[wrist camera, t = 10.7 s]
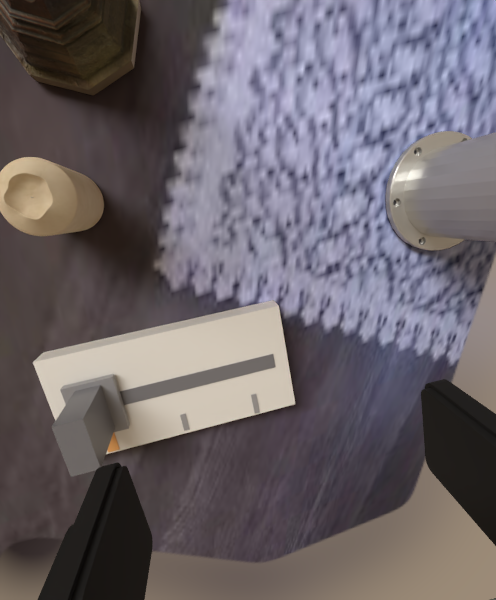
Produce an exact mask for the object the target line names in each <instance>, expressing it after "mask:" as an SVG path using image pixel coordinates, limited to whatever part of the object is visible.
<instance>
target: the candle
mask: <svg viewBox="0 0 496 600" xmlns="http://www.w3.org/2000/svg"><path fill="white" fill-rule="evenodd" d="M103 210H104V200H103V196H102V193H101V191H100V189H99V188H98V186H97V185H96V184H95V183H94V182H93V181H92V180H91V179H90V178H88V177H87V176H85V175H83V174H81V173H78V172H76V171H73V170H71V169H68V168H66V167H63V166H61V165H58V164H55V163H53V162H50V161H48V160H45V159H41V158H37V157H25V158H20V159H17V160H14V161H12V162H10V163H9V164H8V165H6V166H5V167H4V168H3V169H2V171H1V172H0V211H1V213H2V215H3V216H4V217H5V219H6V220H7V221H8V222H9V223H10V224H11V225H13V226H14V227H15V228H17V229H18V230H20V231H22V232H25V233H27V234H30V235H35V236H50V235H58V234H65V233H72V232H79V231H84V230H87V229H89V228H91V227H93V226H94V225H95V224H96V223H97V222H98V221H99V220H100V218H101V216H102V214H103Z"/></svg>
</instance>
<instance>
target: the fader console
mask: <svg viewBox="0 0 496 600" xmlns="http://www.w3.org/2000/svg"><path fill="white" fill-rule="evenodd" d="M33 364H34V367H35V369H36V372H37V374H38V377H39V379H40V382H41V385H42V387H43V390H44V392H45V395H46V398H47V400H48V403H49V405H50V408H51V410H52V413H53V416H54V418H55V421H56V419H57V418H58V416H59V415H60V413H61V412H62V410H63V409H64V407H65V405H66V404H65V401H64V399H63V396H62V393H61V391H60V389H61V388H62V387H63V386H64V385H68V384H73V383H77V382H81V381H85V380H89V379H94V378H98V377H102V376H106V375H110V374H114V376H115V379H116V382H117V385H118V388H119V391H120V394H121V397H122V400H123V404H124V407H125V410H126V413H127V416H128V419H129V422H130V426H129V429H125V430H121V431H117V432H114V433H113V435H112V438H111V441H110V444H109V447H108V450H107V453H106V454H109V453H113V452H117V451H121V450H124V449H128V448H132V447H136V446H140V445H143V444H147V443H151V442H155V441H158V440H162V439H166V438H170V437H173V436H177V435H181V434H185V433H189V432H192V431H196V430H200V429H204V428H207V427H211V426H215V425H219V424H223V423H226V422H230V421H234V420H238V419H241V418H245V417H249V416H253V415H256V414H260V413H264V412H268V411H272V410H275V409H279V408H283V407H287V406H290V405H294V404H295V399H294V393H293V387H292V381H291V375H290V369H289V364H288V358H287V352H286V346H285V340H284V334H283V328H282V322H281V316H280V310H279V306H278V305H277V304H276V303H275V302H274V301H273V300H272V301H268V302H263V303H259V304H254V305H250V306H246V307H241V308H237V309H232V310H228V311H224V312H219V313H215V314H211V315H206V316H202V317H197V318H193V319H189V320H184V321H180V322H175V323H171V324H167V325H162V326H158V327H153V328H149V329H145V330H140V331H136V332H131V333H127V334H123V335H118V336H114V337H109V338H105V339H101V340H96V341H92V342H87V343H83V344H79V345H74V346H70V347H65V348H61V349H57V350H52V351H48V352H43V353H42V354H41V355H40V356H39V357H38V358H37V359H36V360H35V361H34V362H33Z"/></svg>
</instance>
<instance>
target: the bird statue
mask: <svg viewBox="0 0 496 600" xmlns="http://www.w3.org/2000/svg"><path fill="white" fill-rule="evenodd" d="M140 15H141V6H140V1H139V0H0V35H1V37H2V38H3V40H4V41H5V42H6V44H7V45H8V46H9V48H10V49H11V50H12V52H13V53H14V55H15V56H16V57H17V59H18V60H19V61H20V63H21V64H22V66H23V67H24V68H25V70H26V71H27V72H28V74H29V75H30V76H31V77H33V78H34V79H35V80H36V81H37V82H41V83H45V84H49V85H53V86H57V87H61V88H65V89H69V90H73V91H77V92H81V93H85V94H89V95H93V96H94V95H95V94H97V93H98V92H100V91H101V90H103V89H104V88H106V87H107V86H108V85H110V84H111V83H113V82H114V81H116V80H117V79H119V78H120V77H122V76H123V75H125V74H126V73H128V72H129V71H130V70H132V69H133V68H134V64H135V56H136V48H137V40H138V32H139V24H140Z"/></svg>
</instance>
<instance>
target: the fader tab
mask: <svg viewBox="0 0 496 600" xmlns="http://www.w3.org/2000/svg"><path fill="white" fill-rule="evenodd" d="M60 391H61V393H62V396H63V399H64V401H65V404H66V405H65V407H64V409H63V410H62V412H61V413H60V415H59V416H58V418H57V419H56V421H55V422H54V424H53V425H52V430H53V432H54V435H55V437H56V440H57V442H58V445H59V447H60V450H61V453H62V455H63V458H64V460H65V463H66V465H67V468H68V470H69V473H70V475H71V477H72V476H76V475H80V474H83V473H87V472H91V471H95V470H97V468H99V467H102V464H103V461H104V458H105V455H106V453H107V450H108V447H109V444H110V441H111V438H112V435H113V433H114V432H117V431H121V430H125V429H129V426H130V422H129V419H128V416H127V413H126V410H125V407H124V404H123V400H122V397H121V394H120V391H119V388H118V385H117V382H116V379H115V376H114V374H110V375H106V376H102V377H98V378H94V379H89V380H85V381H81V382H77V383H73V384H68V385H64V386H63V387H62V388H61V389H60Z"/></svg>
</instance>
